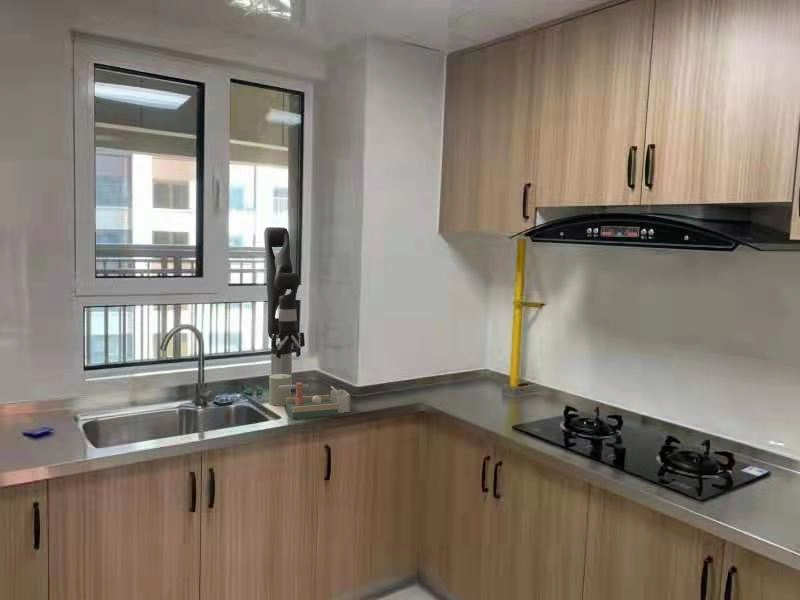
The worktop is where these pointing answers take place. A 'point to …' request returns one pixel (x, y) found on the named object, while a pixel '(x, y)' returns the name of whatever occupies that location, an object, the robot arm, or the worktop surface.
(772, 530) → the worktop surface
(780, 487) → the worktop surface
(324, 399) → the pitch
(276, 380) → the can
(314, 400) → the ball
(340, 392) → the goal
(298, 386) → the kicker
